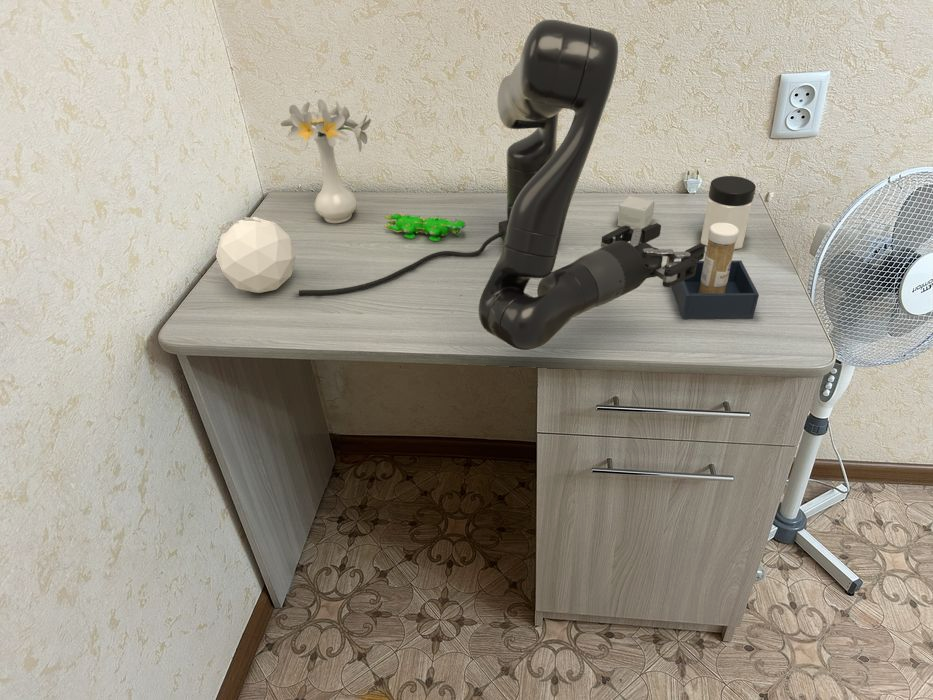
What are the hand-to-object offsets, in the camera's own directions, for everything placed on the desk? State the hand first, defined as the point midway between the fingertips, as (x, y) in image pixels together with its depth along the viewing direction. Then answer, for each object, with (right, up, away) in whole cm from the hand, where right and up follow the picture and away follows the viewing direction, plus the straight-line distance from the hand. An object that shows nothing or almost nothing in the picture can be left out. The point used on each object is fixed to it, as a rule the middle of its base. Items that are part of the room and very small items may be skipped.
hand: (680, 239), depth 106 cm
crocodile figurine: (-42, +7, +40) cm, 58 cm away
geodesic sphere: (-72, -5, +26) cm, 76 cm away
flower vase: (-61, +13, +48) cm, 79 cm away
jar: (+18, +5, +31) cm, 36 cm away
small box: (+3, +9, +39) cm, 40 cm away
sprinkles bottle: (+10, -8, +14) cm, 19 cm away
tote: (+10, -8, +14) cm, 19 cm away
